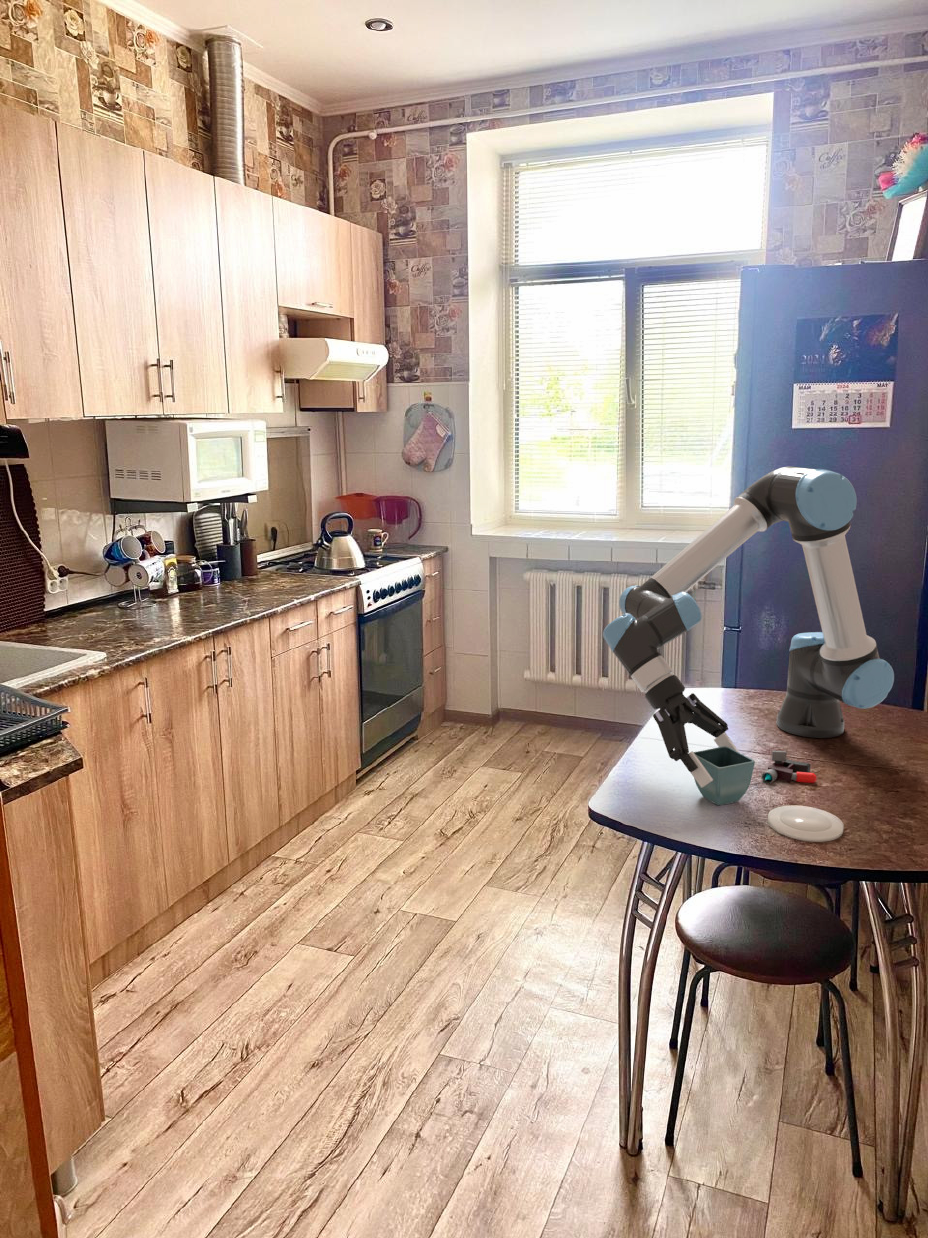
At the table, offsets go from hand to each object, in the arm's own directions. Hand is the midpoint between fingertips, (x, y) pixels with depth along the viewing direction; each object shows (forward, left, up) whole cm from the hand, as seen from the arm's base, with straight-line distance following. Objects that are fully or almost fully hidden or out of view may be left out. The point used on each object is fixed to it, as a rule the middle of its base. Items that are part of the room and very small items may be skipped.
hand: (723, 773), depth 180 cm
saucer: (-8, +14, -6) cm, 17 cm away
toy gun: (-20, -5, -6) cm, 21 cm away
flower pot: (0, -1, -6) cm, 6 cm away
